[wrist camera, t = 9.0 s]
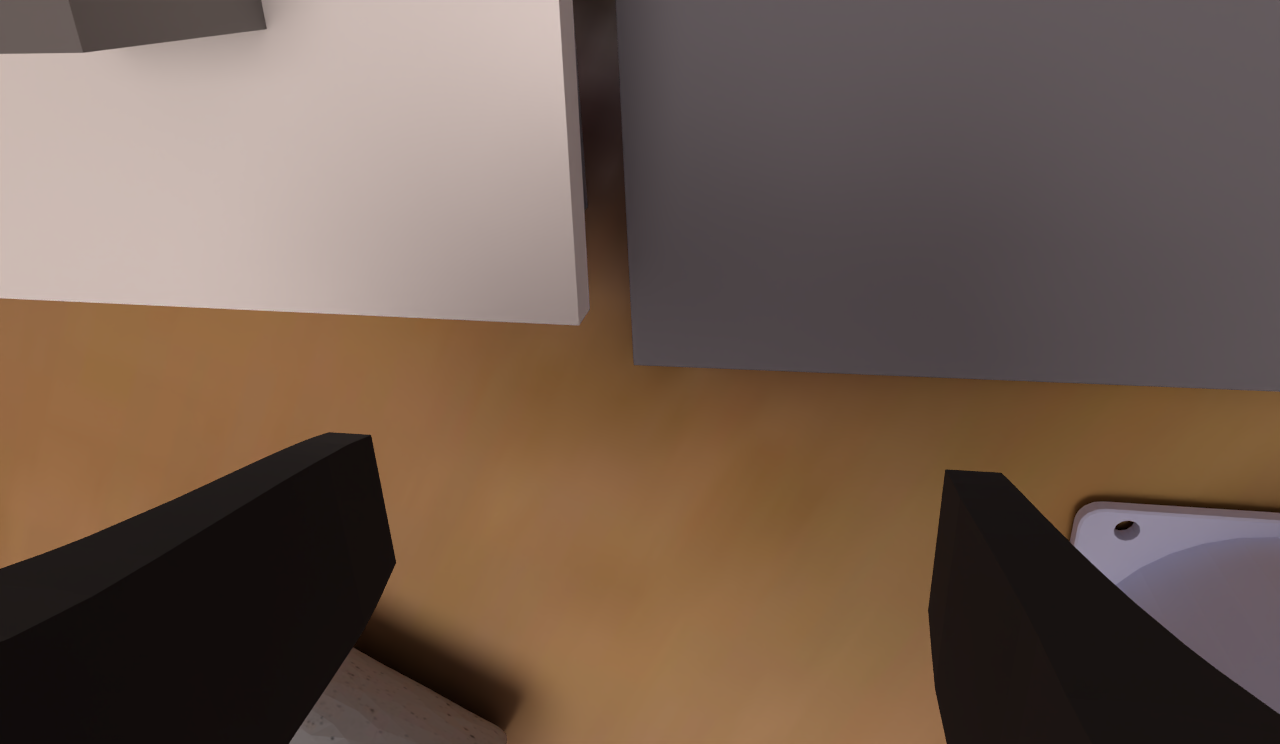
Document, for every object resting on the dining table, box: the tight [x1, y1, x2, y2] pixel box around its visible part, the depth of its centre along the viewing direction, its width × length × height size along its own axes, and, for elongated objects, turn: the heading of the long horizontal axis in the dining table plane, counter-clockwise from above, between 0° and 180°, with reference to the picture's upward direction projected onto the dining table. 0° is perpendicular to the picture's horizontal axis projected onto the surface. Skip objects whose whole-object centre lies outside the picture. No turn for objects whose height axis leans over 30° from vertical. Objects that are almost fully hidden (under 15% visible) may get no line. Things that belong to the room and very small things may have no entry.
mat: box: [616, 0, 1280, 392], centre depth 16 cm, size 14×14×1 cm
